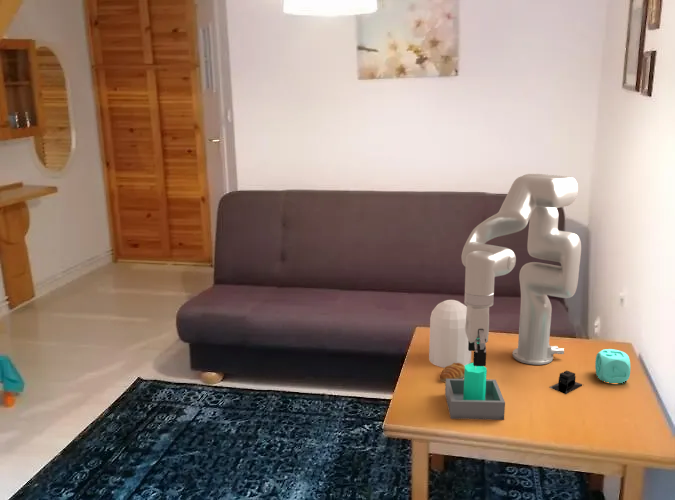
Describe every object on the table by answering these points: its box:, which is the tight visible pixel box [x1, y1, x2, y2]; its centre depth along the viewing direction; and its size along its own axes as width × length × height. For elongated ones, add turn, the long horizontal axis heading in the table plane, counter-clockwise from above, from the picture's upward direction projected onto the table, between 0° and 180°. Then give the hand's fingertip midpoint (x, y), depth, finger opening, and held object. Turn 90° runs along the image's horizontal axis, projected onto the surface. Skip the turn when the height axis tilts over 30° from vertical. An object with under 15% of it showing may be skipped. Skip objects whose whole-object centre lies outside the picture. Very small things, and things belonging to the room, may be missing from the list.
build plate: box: [548, 370, 583, 395], centre depth 195 cm, size 12×7×5 cm, turn 129°
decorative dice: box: [594, 348, 632, 384], centre depth 199 cm, size 8×8×8 cm
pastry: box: [439, 363, 465, 383], centre depth 201 cm, size 9×7×4 cm
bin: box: [444, 378, 506, 421], centre depth 182 cm, size 14×14×5 cm
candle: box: [463, 362, 488, 400], centre depth 182 cm, size 6×6×12 cm
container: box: [428, 299, 472, 369], centre depth 212 cm, size 13×13×20 cm
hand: (476, 357), depth 180 cm, fingers open, 9 cm apart
